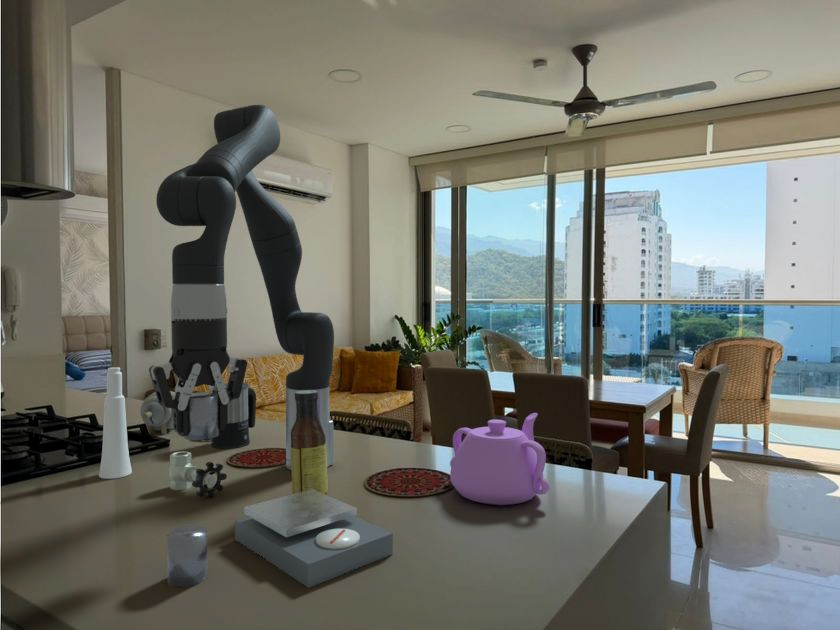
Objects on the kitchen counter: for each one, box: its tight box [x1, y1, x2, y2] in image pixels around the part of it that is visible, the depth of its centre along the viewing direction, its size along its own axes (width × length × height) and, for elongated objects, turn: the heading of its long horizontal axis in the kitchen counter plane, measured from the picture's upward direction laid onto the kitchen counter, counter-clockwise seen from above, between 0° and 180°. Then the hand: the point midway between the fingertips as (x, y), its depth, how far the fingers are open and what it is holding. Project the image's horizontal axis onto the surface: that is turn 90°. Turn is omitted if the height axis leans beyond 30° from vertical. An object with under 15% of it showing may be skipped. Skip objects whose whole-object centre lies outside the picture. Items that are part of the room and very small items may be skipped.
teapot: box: [449, 412, 550, 506], centre depth 110 cm, size 22×22×14 cm
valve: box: [168, 451, 228, 499], centre depth 109 cm, size 7×7×12 cm
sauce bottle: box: [290, 390, 329, 496], centre depth 103 cm, size 7×6×20 cm
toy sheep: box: [140, 390, 175, 436], centre depth 157 cm, size 11×17×11 cm, turn 1°
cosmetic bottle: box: [98, 366, 133, 480], centre depth 119 cm, size 6×6×22 cm
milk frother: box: [204, 382, 257, 450], centre depth 147 cm, size 14×16×15 cm
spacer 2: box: [166, 525, 208, 589], centre depth 76 cm, size 5×5×6 cm
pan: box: [243, 489, 358, 537], centre depth 87 cm, size 12×12×1 cm
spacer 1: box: [183, 391, 219, 441], centre depth 85 cm, size 5×5×6 cm
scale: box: [234, 515, 394, 589], centre depth 85 cm, size 14×20×4 cm
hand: (201, 431), depth 85 cm, fingers closed on spacer 1, 4 cm apart
